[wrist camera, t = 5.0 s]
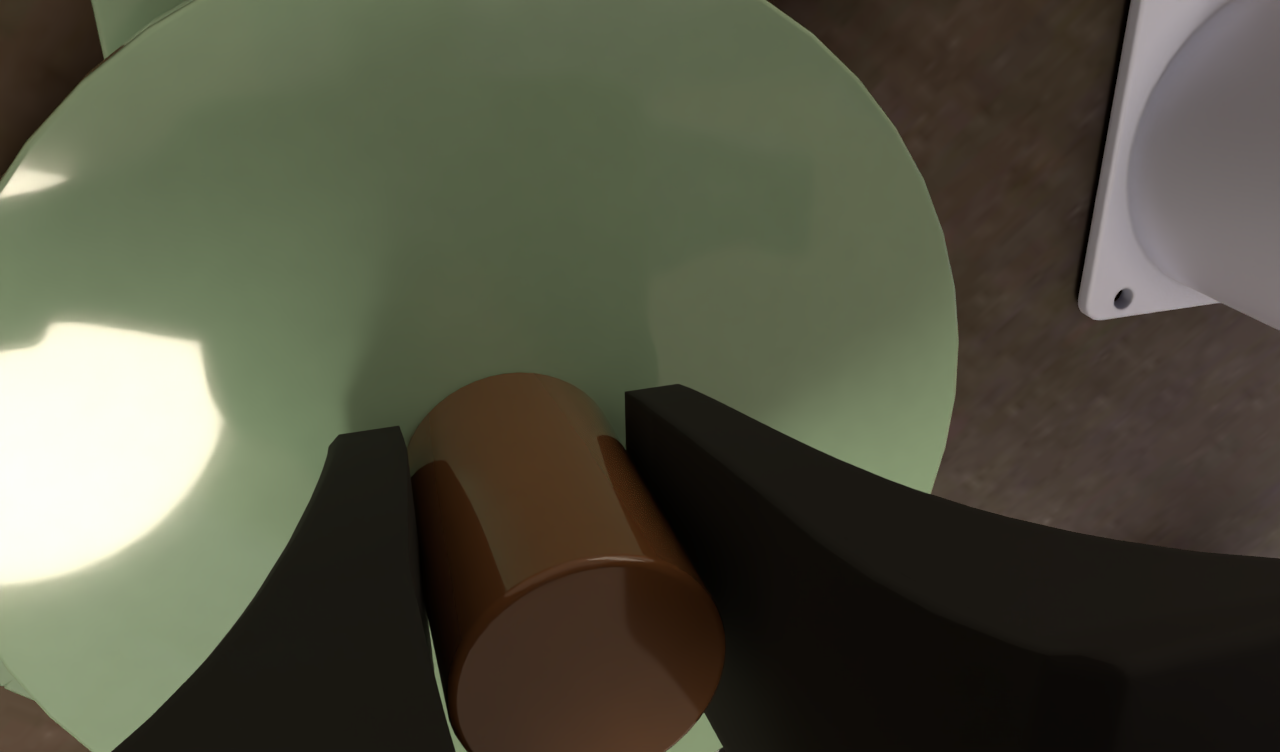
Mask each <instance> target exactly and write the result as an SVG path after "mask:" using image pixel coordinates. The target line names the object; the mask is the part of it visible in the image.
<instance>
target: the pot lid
mask: <svg viewBox="0 0 1280 752" xmlns="http://www.w3.org/2000/svg"><path fill="white" fill-rule="evenodd" d="M958 344H959V339H958V325H957V311H956V297H955V286H954V281H953V276H952V271H951V267H950V262H949V257H948V253H947V248H946V243H945V238H944V234H943V231H942V228H941V225H940V222H939V220H938V217H937V214H936V211H935V209H934V206H933V203H932V201H931V198H930V195H929V192H928V190H927V187H926V184H925V181H924V179H923V177H922V175H921V173H920V171H919V169H918V167H917V166H916V164H915V162H914V160H913V158H912V156H911V155H910V153H909V151H908V149H907V147H906V145H905V143H904V142H903V140H902V138H901V136H900V134H899V132H898V131H897V129H896V127H895V125H894V124H893V123H892V121H891V120H890V119H889V117H888V116H887V115H886V113H885V112H884V111H883V110H882V108H881V107H880V106H879V104H878V103H877V102H876V100H875V99H874V98H873V96H872V95H871V94H870V92H869V91H868V90H867V88H866V87H865V86H864V84H863V83H862V82H861V80H860V79H859V78H858V77H857V76H856V75H855V74H854V73H853V72H852V71H851V70H850V69H849V68H848V67H847V66H846V65H845V64H844V63H843V62H842V61H841V60H840V59H839V58H838V57H837V56H836V55H835V54H834V53H833V52H832V51H831V50H830V49H829V48H828V47H827V46H826V45H824V44H823V43H822V42H821V41H820V40H819V39H818V38H817V37H816V36H815V35H814V34H813V33H812V32H811V31H809V30H808V29H807V28H805V27H804V26H802V25H801V24H800V23H798V22H797V21H795V20H794V19H793V18H791V17H790V16H788V15H787V14H786V13H784V12H783V11H781V10H780V9H779V8H777V7H776V6H774V5H773V4H772V3H770V2H769V1H767V0H187V1H185V2H183V3H182V4H180V5H178V6H177V7H175V8H173V9H171V10H170V11H168V12H166V13H165V14H163V15H161V16H160V17H158V18H156V19H155V20H153V21H151V22H150V23H149V24H148V25H146V26H145V27H144V28H143V29H141V30H140V31H139V32H138V33H136V34H135V35H134V36H133V37H131V38H130V39H129V40H128V41H127V42H125V43H124V44H123V45H122V46H120V47H119V48H118V49H117V50H115V51H114V52H113V53H112V54H110V55H109V56H108V57H107V58H105V59H104V60H103V61H102V62H101V63H99V64H98V65H97V66H96V67H94V68H93V69H92V70H91V71H89V72H88V73H87V74H86V75H85V76H84V77H83V78H82V80H81V81H80V82H79V83H78V84H77V85H76V86H75V87H74V88H73V89H72V91H71V92H70V93H69V94H68V95H67V96H66V97H65V98H64V99H63V100H62V102H61V103H60V104H59V105H58V106H57V107H56V108H55V109H54V110H53V111H52V112H51V114H50V115H49V116H48V117H47V118H46V119H45V120H44V121H43V122H42V123H41V125H40V126H39V127H38V128H37V129H36V130H35V131H34V132H33V133H32V135H31V136H30V137H29V138H28V140H27V141H26V142H25V143H24V145H23V146H22V148H21V149H20V151H19V152H18V154H17V155H16V157H15V159H14V160H13V162H12V163H11V165H10V166H9V168H8V169H7V171H6V172H5V174H4V175H3V177H2V178H1V180H0V660H1V661H2V663H3V664H4V666H5V667H6V669H7V670H8V672H9V673H10V674H11V675H12V676H13V677H14V678H15V679H16V680H17V682H18V683H19V684H20V685H21V686H22V687H23V688H24V689H25V690H26V692H27V693H28V694H29V695H30V696H31V697H32V698H33V699H34V700H35V702H36V703H37V704H38V705H39V706H40V707H41V708H42V709H43V710H44V712H45V713H46V714H47V715H48V716H49V717H50V718H51V719H53V720H54V721H55V722H56V723H57V724H59V725H60V726H61V727H62V728H63V729H65V730H66V731H67V732H68V733H69V734H71V735H72V736H73V737H74V738H76V739H77V740H78V741H79V742H80V743H82V744H83V745H84V746H85V747H86V748H88V749H89V750H90V751H91V752H111V751H112V750H114V749H115V748H116V747H117V746H118V745H119V744H120V743H122V742H123V741H124V740H125V739H126V738H127V737H128V736H130V735H131V734H132V733H133V732H134V731H135V730H136V729H138V728H139V727H140V726H141V725H142V724H143V723H144V722H145V721H146V720H148V719H149V718H150V717H151V716H152V715H153V714H154V713H155V712H156V711H157V710H158V709H159V708H160V707H161V706H162V705H163V704H164V703H165V702H166V701H167V700H168V699H169V698H170V697H171V696H172V695H173V694H174V693H175V691H176V690H177V689H178V688H179V687H180V686H181V685H182V684H183V683H184V682H185V681H186V680H187V679H188V678H189V677H190V676H191V675H192V674H193V673H194V672H195V671H196V670H197V669H198V668H199V666H200V665H201V664H202V663H203V662H204V661H205V660H206V659H207V657H208V656H209V655H210V654H211V653H212V651H213V650H214V649H215V648H216V646H217V645H218V644H219V643H220V642H221V640H222V639H223V638H224V637H225V635H226V634H227V633H228V632H229V630H230V629H231V628H232V627H233V625H234V624H235V623H236V621H237V620H238V619H239V617H240V616H241V615H242V613H243V612H244V610H245V609H246V608H247V606H248V605H249V603H250V602H251V601H252V599H253V598H254V596H255V595H256V593H257V592H258V590H259V589H260V587H261V585H262V584H263V582H264V581H265V579H266V577H267V576H268V574H269V573H270V571H271V569H272V568H273V566H274V565H275V563H276V561H277V560H278V558H279V557H280V555H281V554H282V552H283V550H284V549H285V547H286V545H287V543H288V542H289V540H290V538H291V536H292V534H293V532H294V530H295V528H296V526H297V524H298V522H299V520H300V518H301V516H302V514H303V513H304V511H305V509H306V507H307V505H308V503H309V501H310V498H311V496H312V494H313V492H314V489H315V487H316V485H317V482H318V480H319V477H320V475H321V472H322V469H323V466H324V463H325V460H326V457H327V453H328V447H329V445H330V444H331V443H332V442H333V441H334V439H335V438H336V437H337V436H338V435H339V434H346V433H352V432H359V431H366V430H372V429H379V428H386V427H392V426H400V429H401V432H402V435H403V437H404V441H405V444H406V447H407V452H408V460H409V468H410V476H411V485H412V493H413V501H414V509H415V517H416V525H417V533H418V543H419V556H420V569H421V579H422V590H423V597H424V602H425V607H426V611H427V616H428V622H429V630H430V639H431V647H432V655H433V663H434V673H435V678H436V682H437V686H438V690H439V694H440V698H441V701H442V705H443V709H444V713H445V717H446V720H447V724H448V727H449V731H450V734H451V738H452V741H453V744H454V748H455V751H456V752H716V751H718V750H720V749H721V748H723V746H722V744H721V742H720V741H719V739H718V737H717V735H716V733H715V732H714V730H713V728H712V726H711V724H710V723H709V721H708V719H707V717H706V715H705V713H704V712H705V710H706V709H707V707H708V706H709V704H710V702H711V700H712V698H713V696H714V695H715V692H716V690H717V687H718V685H719V682H720V680H721V676H722V672H723V668H724V663H725V654H726V636H725V628H724V623H723V619H722V616H721V613H720V611H719V608H718V606H717V604H716V602H715V600H714V599H713V597H712V595H711V594H710V592H709V590H708V588H707V587H706V585H705V583H704V582H703V580H702V578H701V577H700V575H699V573H698V572H697V570H696V568H695V566H694V565H693V563H692V561H691V560H690V558H689V556H688V555H687V553H686V551H685V550H684V548H683V546H682V544H681V543H680V541H679V539H678V538H677V536H676V534H675V533H674V531H673V529H672V528H671V526H670V524H669V522H668V521H667V519H666V517H665V516H664V514H663V512H662V511H661V509H660V507H659V505H658V504H657V502H656V500H655V499H654V497H653V495H652V494H651V492H650V490H649V489H648V487H647V485H646V483H645V482H644V480H643V478H642V477H641V475H640V473H639V472H638V470H637V468H636V467H635V465H634V463H633V461H632V460H631V458H630V456H629V455H628V453H627V451H626V431H625V392H626V391H633V390H639V389H646V388H653V387H659V386H666V385H673V384H681V385H683V386H686V387H689V388H691V389H694V390H696V391H698V392H700V393H703V394H705V395H707V396H709V397H711V398H713V399H715V400H717V401H719V402H721V403H723V404H725V405H727V406H729V407H731V408H733V409H735V410H737V411H739V412H741V413H743V414H745V415H747V416H749V417H751V418H753V419H755V420H757V421H759V422H761V423H763V424H765V425H767V426H769V427H771V428H773V429H775V430H777V431H779V432H781V433H783V434H785V435H788V436H790V437H792V438H794V439H796V440H798V441H800V442H802V443H804V444H806V445H809V446H811V447H813V448H815V449H817V450H819V451H822V452H824V453H826V454H828V455H831V456H833V457H835V458H837V459H839V460H842V461H844V462H847V463H849V464H852V465H854V466H856V467H859V468H861V469H864V470H866V471H869V472H871V473H873V474H876V475H878V476H881V477H883V478H886V479H888V480H891V481H894V482H896V483H899V484H902V485H905V486H907V487H910V488H913V489H916V490H919V491H922V492H925V493H928V494H931V491H932V488H933V485H934V482H935V479H936V476H937V472H938V469H939V466H940V463H941V460H942V457H943V453H944V450H945V447H946V442H947V437H948V431H949V426H950V421H951V415H952V410H953V405H954V400H955V394H956V377H957V361H958Z"/></svg>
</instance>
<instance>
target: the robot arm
mask: <svg viewBox="0 0 1280 752" xmlns="http://www.w3.org/2000/svg"><path fill="white" fill-rule="evenodd" d="M1120 290H1122V293H1121V295H1120V297H1119V298H1118V299H1117V300H1116V301H1115V302H1114V299H1115V297H1116V295H1117V294H1118V293H1119V291H1120ZM1215 303H1223V304H1225V305H1227V306H1229V307H1231V308H1233V309H1235V310H1237V311H1239V312H1241V313H1244V314H1246V315H1248V316H1250V317H1252V318H1254V319H1256V320H1258V321H1260V322H1262V323H1264V324H1267V325H1269V326H1271V327H1273V328H1275V329H1277V330H1279V331H1280V0H1131V2H1130V8H1129V13H1128V19H1127V25H1126V30H1125V36H1124V42H1123V47H1122V53H1121V59H1120V64H1119V70H1118V76H1117V81H1116V87H1115V92H1114V98H1113V104H1112V109H1111V115H1110V121H1109V126H1108V132H1107V138H1106V143H1105V149H1104V155H1103V160H1102V166H1101V172H1100V177H1099V183H1098V189H1097V194H1096V200H1095V206H1094V211H1093V217H1092V223H1091V228H1090V234H1089V240H1088V245H1087V251H1086V257H1085V262H1084V268H1083V274H1082V279H1081V285H1080V291H1079V296H1078V307H1079V309H1080V311H1081V312H1082V313H1084V314H1085V315H1087V316H1088V317H1090V318H1092V319H1094V320H1106V319H1113V318H1120V317H1126V316H1133V315H1140V314H1147V313H1154V312H1160V311H1167V310H1174V309H1181V308H1188V307H1194V306H1201V305H1208V304H1215ZM625 431H626V451H627V453H628V455H629V456H630V458H631V460H632V461H633V463H634V465H635V467H636V468H637V470H638V472H639V473H640V475H641V477H642V478H643V480H644V482H645V483H646V485H647V487H648V489H649V490H650V492H651V494H652V495H653V497H654V499H655V500H656V502H657V504H658V505H659V507H660V509H661V511H662V512H663V514H664V516H665V517H666V519H667V521H668V522H669V524H670V526H671V528H672V529H673V531H674V533H675V534H676V536H677V538H678V539H679V541H680V543H681V544H682V546H683V548H684V550H685V551H686V553H687V555H688V556H689V558H690V560H691V561H692V563H693V565H694V566H695V568H696V570H697V572H698V573H699V575H700V577H701V578H702V580H703V582H704V583H705V585H706V587H707V588H708V590H709V592H710V594H711V595H712V597H713V599H714V600H715V602H716V604H717V606H718V608H719V611H720V613H721V616H722V619H723V623H724V628H725V636H726V654H725V663H724V668H723V672H722V676H721V680H720V682H719V685H718V687H717V690H716V692H715V695H714V696H713V698H712V700H711V702H710V704H709V706H708V707H707V709H706V710H705V712H704V713H705V715H706V717H707V719H708V721H709V723H710V724H711V726H712V728H713V730H714V732H715V733H716V735H717V737H718V739H719V741H720V742H721V744H722V746H723V748H724V750H725V752H1280V559H1278V558H1266V557H1254V556H1242V555H1229V554H1217V553H1205V552H1196V551H1188V550H1181V549H1174V548H1167V547H1160V546H1153V545H1146V544H1140V543H1133V542H1126V541H1119V540H1114V539H1108V538H1103V537H1097V536H1092V535H1086V534H1081V533H1075V532H1071V531H1066V530H1062V529H1057V528H1053V527H1048V526H1044V525H1040V524H1035V523H1031V522H1027V521H1022V520H1018V519H1014V518H1009V517H1005V516H1002V515H998V514H994V513H990V512H987V511H983V510H979V509H976V508H972V507H969V506H966V505H963V504H960V503H956V502H953V501H950V500H947V499H944V498H941V497H938V496H934V495H931V494H928V493H925V492H922V491H919V490H916V489H913V488H910V487H907V486H905V485H902V484H899V483H896V482H894V481H891V480H888V479H886V478H883V477H881V476H878V475H876V474H873V473H871V472H869V471H866V470H864V469H861V468H859V467H856V466H854V465H852V464H849V463H847V462H844V461H842V460H839V459H837V458H835V457H833V456H831V455H828V454H826V453H824V452H822V451H819V450H817V449H815V448H813V447H811V446H809V445H806V444H804V443H802V442H800V441H798V440H796V439H794V438H792V437H790V436H788V435H785V434H783V433H781V432H779V431H777V430H775V429H773V428H771V427H769V426H767V425H765V424H763V423H761V422H759V421H757V420H755V419H753V418H751V417H749V416H747V415H745V414H743V413H741V412H739V411H737V410H735V409H733V408H731V407H729V406H727V405H725V404H723V403H721V402H719V401H717V400H715V399H713V398H711V397H709V396H707V395H705V394H703V393H700V392H698V391H696V390H694V389H691V388H689V387H686V386H683V385H681V384H673V385H666V386H659V387H653V388H646V389H639V390H633V391H626V392H625ZM111 752H456V751H455V748H454V744H453V741H452V738H451V734H450V731H449V727H448V724H447V720H446V717H445V713H444V709H443V705H442V701H441V698H440V694H439V690H438V686H437V682H436V678H435V673H434V663H433V655H432V647H431V639H430V630H429V622H428V616H427V611H426V607H425V602H424V597H423V590H422V579H421V569H420V556H419V543H418V533H417V525H416V517H415V509H414V501H413V493H412V485H411V476H410V468H409V460H408V452H407V447H406V444H405V441H404V437H403V435H402V432H401V429H400V426H392V427H386V428H379V429H372V430H366V431H359V432H352V433H346V434H339V435H338V436H337V437H336V438H335V439H334V441H333V442H332V443H331V444H330V445H329V447H328V453H327V457H326V460H325V463H324V466H323V469H322V472H321V475H320V477H319V480H318V482H317V485H316V487H315V489H314V492H313V494H312V496H311V498H310V501H309V503H308V505H307V507H306V509H305V511H304V513H303V514H302V516H301V518H300V520H299V522H298V524H297V526H296V528H295V530H294V532H293V534H292V536H291V538H290V540H289V542H288V543H287V545H286V547H285V549H284V550H283V552H282V554H281V555H280V557H279V558H278V560H277V561H276V563H275V565H274V566H273V568H272V569H271V571H270V573H269V574H268V576H267V577H266V579H265V581H264V582H263V584H262V585H261V587H260V589H259V590H258V592H257V593H256V595H255V596H254V598H253V599H252V601H251V602H250V603H249V605H248V606H247V608H246V609H245V610H244V612H243V613H242V615H241V616H240V617H239V619H238V620H237V621H236V623H235V624H234V625H233V627H232V628H231V629H230V630H229V632H228V633H227V634H226V635H225V637H224V638H223V639H222V640H221V642H220V643H219V644H218V645H217V646H216V648H215V649H214V650H213V651H212V653H211V654H210V655H209V656H208V657H207V659H206V660H205V661H204V662H203V663H202V664H201V665H200V666H199V668H198V669H197V670H196V671H195V672H194V673H193V674H192V675H191V676H190V677H189V678H188V679H187V680H186V681H185V682H184V683H183V684H182V685H181V686H180V687H179V688H178V689H177V690H176V691H175V693H174V694H173V695H172V696H171V697H170V698H169V699H168V700H167V701H166V702H165V703H164V704H163V705H162V706H161V707H160V708H159V709H158V710H157V711H156V712H155V713H154V714H153V715H152V716H151V717H150V718H149V719H148V720H146V721H145V722H144V723H143V724H142V725H141V726H140V727H139V728H138V729H136V730H135V731H134V732H133V733H132V734H131V735H130V736H128V737H127V738H126V739H125V740H124V741H123V742H122V743H120V744H119V745H118V746H117V747H116V748H115V749H114V750H112V751H111Z"/></svg>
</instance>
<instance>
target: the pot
mask: <svg viewBox="0 0 1280 752" xmlns="http://www.w3.org/2000/svg"><path fill="white" fill-rule="evenodd" d="M185 1H187V0H91V4H92V9H93V13H94V18H95V22H96V27H97V32H98V36H99V41H100V45H101V50H102V55H103V59H105V58H107V57H108V56H109V55H110V54H112V53H113V52H114V51H115V50H117V49H118V48H119V47H120V46H122V45H123V44H124V43H125V42H127V41H128V40H129V39H130V38H131V37H133V36H134V35H135V34H136V33H138V32H139V31H140V30H141V29H143V28H144V27H145V26H146V25H148V24H149V23H150V22H151V21H153V20H155V19H156V18H158V17H160V16H161V15H163V14H165V13H166V12H168V11H170V10H171V9H173V8H175V7H177V6H178V5H180V4H182V3H183V2H185ZM10 165H11V164H10ZM8 168H9V167H8ZM8 168H7V169H8ZM6 171H7V170H6ZM6 171H5V172H6ZM5 172H4V173H3V175H4V174H5ZM3 175H2V176H1V177H0V180H1V178H2V177H3ZM0 686H4V688H5V689H7V690H9V691H12V692H14V693H17V694H19V695H22V696H24V697H26V698H29V699H31V700H34V699H33V698H32V697H31V696H30V695H29V694H28V693H27V692H26V690H25V689H24V688H23V687H22V686H21V685H20V684H19V683H18V682H17V680H16V679H15V678H14V677H13V676H12V675H11V674H10V673H9V672H8V670H7V669H6V667H5V666H4V664H3V663H2V661H1V660H0ZM34 701H35V700H34Z"/></svg>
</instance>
